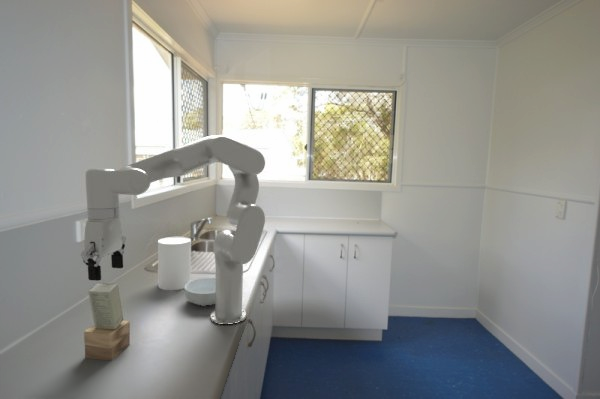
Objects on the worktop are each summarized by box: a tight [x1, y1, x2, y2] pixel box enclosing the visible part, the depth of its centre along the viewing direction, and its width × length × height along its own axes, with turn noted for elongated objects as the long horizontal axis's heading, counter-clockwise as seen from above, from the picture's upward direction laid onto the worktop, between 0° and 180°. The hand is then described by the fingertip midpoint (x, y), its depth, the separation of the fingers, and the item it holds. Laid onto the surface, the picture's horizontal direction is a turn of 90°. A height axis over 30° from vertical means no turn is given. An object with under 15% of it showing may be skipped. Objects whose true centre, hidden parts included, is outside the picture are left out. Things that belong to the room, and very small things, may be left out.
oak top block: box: [83, 320, 131, 349], centre depth 96 cm, size 8×8×4 cm
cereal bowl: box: [183, 277, 215, 307], centre depth 132 cm, size 17×17×7 cm
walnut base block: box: [84, 333, 131, 361], centre depth 97 cm, size 8×8×4 cm
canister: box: [157, 236, 192, 291], centre depth 147 cm, size 14×14×20 cm
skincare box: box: [88, 282, 124, 329], centre depth 94 cm, size 6×4×12 cm
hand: (106, 273), depth 94 cm, fingers open, 9 cm apart
